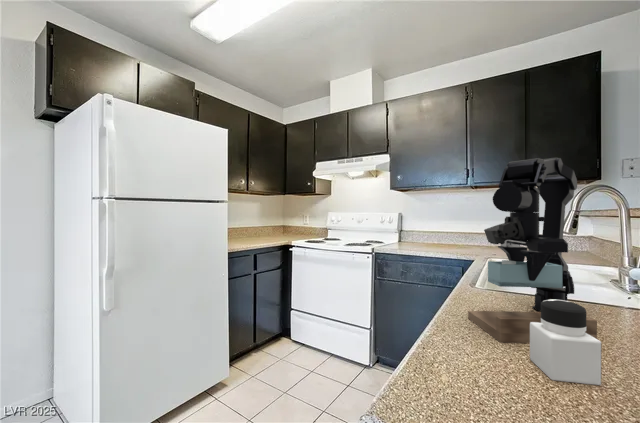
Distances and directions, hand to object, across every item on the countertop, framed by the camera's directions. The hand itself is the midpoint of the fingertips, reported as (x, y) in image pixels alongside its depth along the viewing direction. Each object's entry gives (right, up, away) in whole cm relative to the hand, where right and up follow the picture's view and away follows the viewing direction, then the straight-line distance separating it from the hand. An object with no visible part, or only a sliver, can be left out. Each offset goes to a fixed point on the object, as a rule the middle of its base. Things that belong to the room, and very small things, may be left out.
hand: (524, 278), depth 68 cm
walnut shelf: (0, -12, -1) cm, 12 cm away
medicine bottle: (-6, -12, -18) cm, 23 cm away
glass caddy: (0, -2, 0) cm, 2 cm away
